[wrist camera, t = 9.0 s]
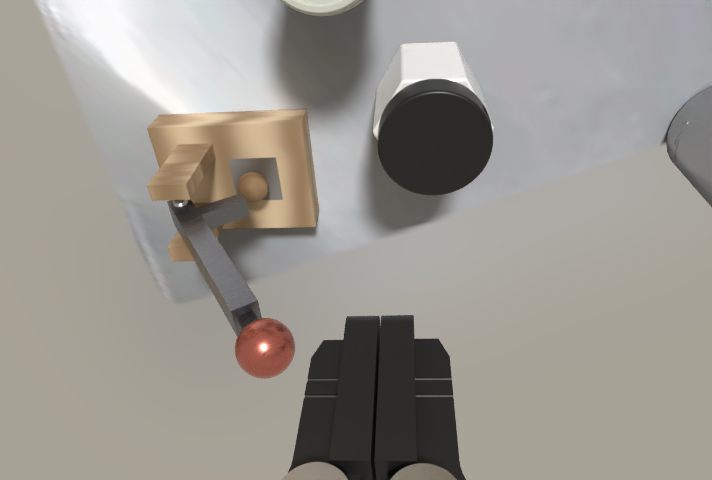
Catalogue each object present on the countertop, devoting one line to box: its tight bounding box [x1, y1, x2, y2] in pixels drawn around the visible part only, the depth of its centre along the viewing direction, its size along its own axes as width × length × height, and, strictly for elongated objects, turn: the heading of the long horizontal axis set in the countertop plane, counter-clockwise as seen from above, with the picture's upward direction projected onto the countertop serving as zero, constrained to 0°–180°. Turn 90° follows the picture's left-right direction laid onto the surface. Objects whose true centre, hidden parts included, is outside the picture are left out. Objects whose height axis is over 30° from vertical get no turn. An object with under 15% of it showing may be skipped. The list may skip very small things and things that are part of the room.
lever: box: [167, 193, 295, 378], centre depth 40 cm, size 7×4×21 cm
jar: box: [373, 42, 494, 195], centre depth 43 cm, size 9×8×12 cm
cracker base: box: [147, 109, 319, 261], centre depth 50 cm, size 14×11×10 cm
